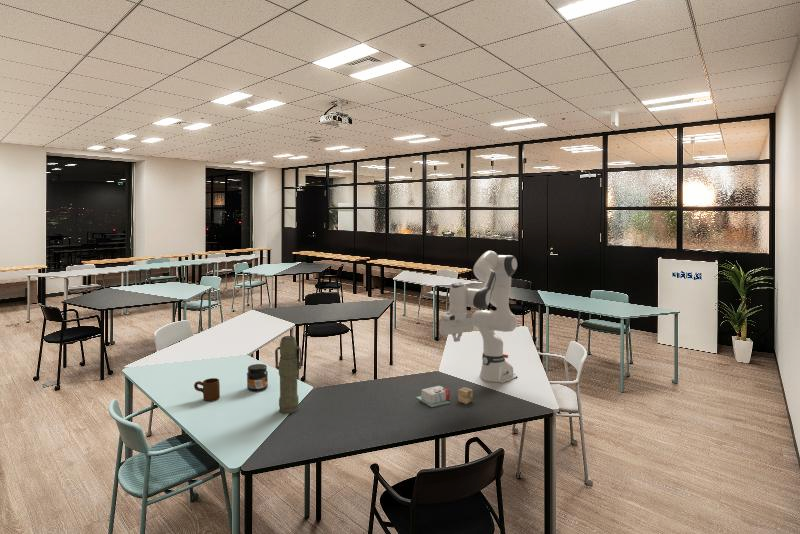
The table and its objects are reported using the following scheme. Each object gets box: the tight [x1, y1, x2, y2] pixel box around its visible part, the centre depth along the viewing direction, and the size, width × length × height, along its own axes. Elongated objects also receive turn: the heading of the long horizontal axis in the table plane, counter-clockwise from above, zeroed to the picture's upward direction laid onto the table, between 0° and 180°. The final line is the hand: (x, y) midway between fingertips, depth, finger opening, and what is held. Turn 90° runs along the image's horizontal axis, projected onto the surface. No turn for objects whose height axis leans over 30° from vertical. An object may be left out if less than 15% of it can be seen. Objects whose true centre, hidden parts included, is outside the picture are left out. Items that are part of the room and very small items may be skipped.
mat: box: [415, 395, 451, 408], centre depth 229 cm, size 11×14×1 cm
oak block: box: [457, 386, 473, 405], centre depth 228 cm, size 5×5×6 cm
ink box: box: [420, 385, 451, 404], centre depth 229 cm, size 9×5×12 cm
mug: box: [193, 377, 221, 403], centre depth 226 cm, size 12×8×9 cm, turn 96°
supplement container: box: [246, 363, 269, 393], centre depth 241 cm, size 10×10×12 cm
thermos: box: [274, 335, 302, 415], centre depth 213 cm, size 9×12×35 cm
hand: (456, 341), depth 234 cm, fingers closed
